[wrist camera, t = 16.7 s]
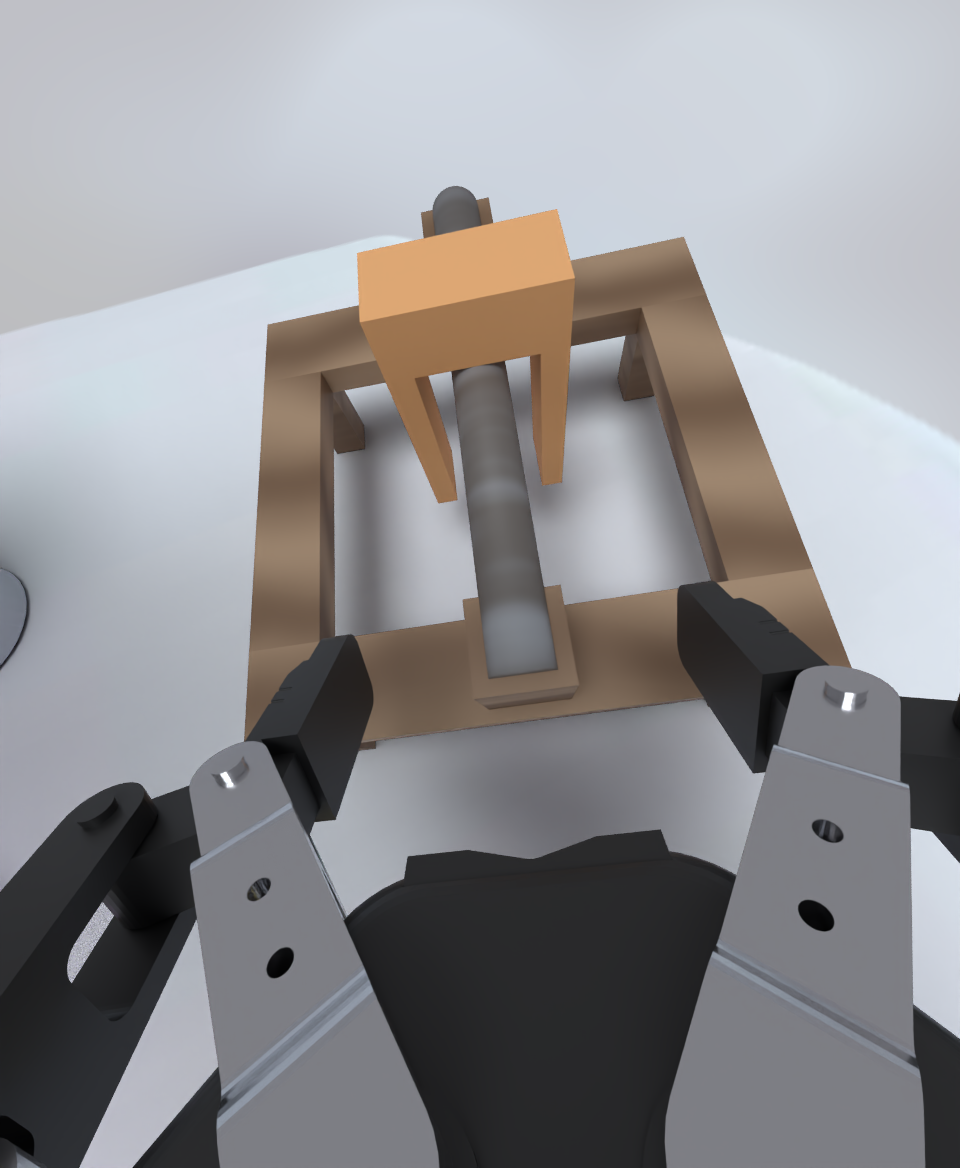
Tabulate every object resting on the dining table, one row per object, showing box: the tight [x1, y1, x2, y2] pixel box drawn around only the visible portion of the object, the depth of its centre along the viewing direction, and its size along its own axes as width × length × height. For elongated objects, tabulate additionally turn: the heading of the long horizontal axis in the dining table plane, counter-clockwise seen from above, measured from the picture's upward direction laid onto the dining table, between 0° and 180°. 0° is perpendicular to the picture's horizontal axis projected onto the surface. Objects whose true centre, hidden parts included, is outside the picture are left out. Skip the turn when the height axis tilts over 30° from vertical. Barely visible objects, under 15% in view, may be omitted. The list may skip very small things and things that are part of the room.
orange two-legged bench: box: [357, 209, 575, 503], centre depth 19 cm, size 3×6×11 cm, turn 97°
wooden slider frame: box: [244, 186, 852, 751], centre depth 22 cm, size 22×22×14 cm
